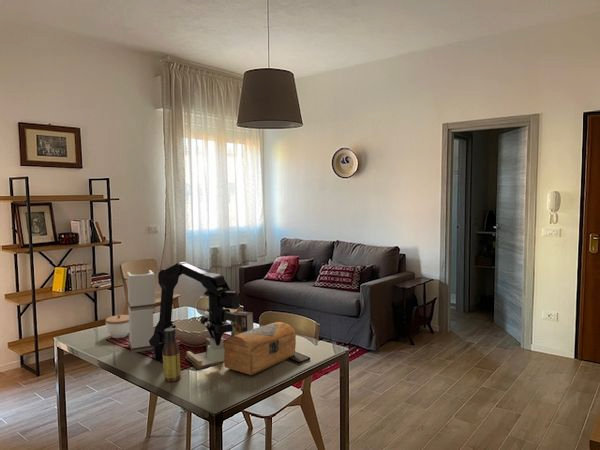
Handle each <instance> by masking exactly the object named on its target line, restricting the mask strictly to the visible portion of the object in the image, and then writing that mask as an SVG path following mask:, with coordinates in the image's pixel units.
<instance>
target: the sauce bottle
mask: <svg viewBox="0 0 600 450" xmlns="http://www.w3.org/2000/svg"><path fill="white" fill-rule="evenodd" d="M175 333H176V328H167V329H165V330H164V334H165V344H164V348H163V359H162V363H163V364H162V366H163V368H162V369H163V377H164V380H165V381H166V382H168V383H169V382H170V383H172V382H176V381H178V380H180V379H181V376H182V375H181V374H182V373H181V372H182V371H181V358H180V345H179V344H178V342H177V340H176V334H175Z"/></svg>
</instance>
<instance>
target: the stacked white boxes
mask: <svg viewBox="0 0 600 450" xmlns="http://www.w3.org/2000/svg"><path fill="white" fill-rule="evenodd" d="M126 272H127V273H126V277H127V279H126V280H127V299H128V300H127V303H128V304H127V307H128V308H127V309H128V315H129V333H128V335H129V337H128V338H129V347H130V350H131V353H132V354H133V353H141V352H147V351H153V350H152V349H153V346H151V345H150V343H149V340H150V339H151V337H152V336H153V335H154V331H155V327H154V312H156V308H157V307H156V285H155V283H156V281H155V280H156V279H155V273H154V272H153V271H152V270H151V269H149V270H148V273H146V274H133V273H131V272H130V271H126ZM146 350H147V351H146Z"/></svg>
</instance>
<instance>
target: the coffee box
mask: <svg viewBox="0 0 600 450" xmlns="http://www.w3.org/2000/svg"><path fill="white" fill-rule="evenodd" d="M232 313H234V314H237V317H236V321H235V322H232V321H230V324H231V325H232V326H233V331H231V332H230V337H231V336H235V335H238V334H240V333H243V332H246V331H249V330H251V329H254V312H252V311H251V312H250V311H243V310H241V311H240V310H235V311H234V312H232Z"/></svg>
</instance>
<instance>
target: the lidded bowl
mask: <svg viewBox="0 0 600 450" xmlns="http://www.w3.org/2000/svg"><path fill="white" fill-rule="evenodd" d="M105 328H106V331H107V333H108V335H110V336H111V337H112V338H113V339H120V338H121V339H122V338H125V337H127V336H128V335H129V314H121V313H118V314H117V315H116V314H115V315H112V316H109V317H107V318H106V319H105Z"/></svg>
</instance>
